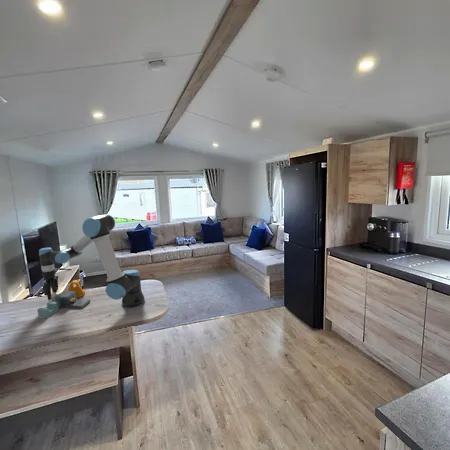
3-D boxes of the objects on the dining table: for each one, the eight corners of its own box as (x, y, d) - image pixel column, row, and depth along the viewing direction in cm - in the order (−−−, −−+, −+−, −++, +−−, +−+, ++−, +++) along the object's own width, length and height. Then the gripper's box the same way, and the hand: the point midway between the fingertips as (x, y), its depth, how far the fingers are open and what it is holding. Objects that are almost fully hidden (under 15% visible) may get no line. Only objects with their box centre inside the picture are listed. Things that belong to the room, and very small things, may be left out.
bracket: (85, 292, 207) (83, 277, 205) (83, 296, 201) (81, 281, 198) (69, 294, 204) (67, 279, 202) (67, 298, 197) (65, 283, 195)
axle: (75, 300, 188) (74, 296, 188) (72, 302, 185) (72, 298, 185) (51, 300, 190) (50, 296, 190) (48, 302, 187) (47, 298, 187)
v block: (58, 309, 181) (57, 302, 180) (47, 317, 171) (46, 309, 170) (50, 309, 181) (49, 302, 180) (38, 317, 171) (37, 309, 170)
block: (90, 302, 191) (88, 291, 189) (82, 308, 182) (80, 297, 181) (65, 301, 193) (63, 291, 191) (56, 307, 184) (54, 296, 182)
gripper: (51, 266, 192) (56, 296, 197) (34, 274, 177) (39, 307, 181) (61, 266, 192) (65, 297, 196) (44, 274, 176) (49, 307, 180)
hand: (53, 302), depth 189 cm, fingers closed on axle, 3 cm apart
